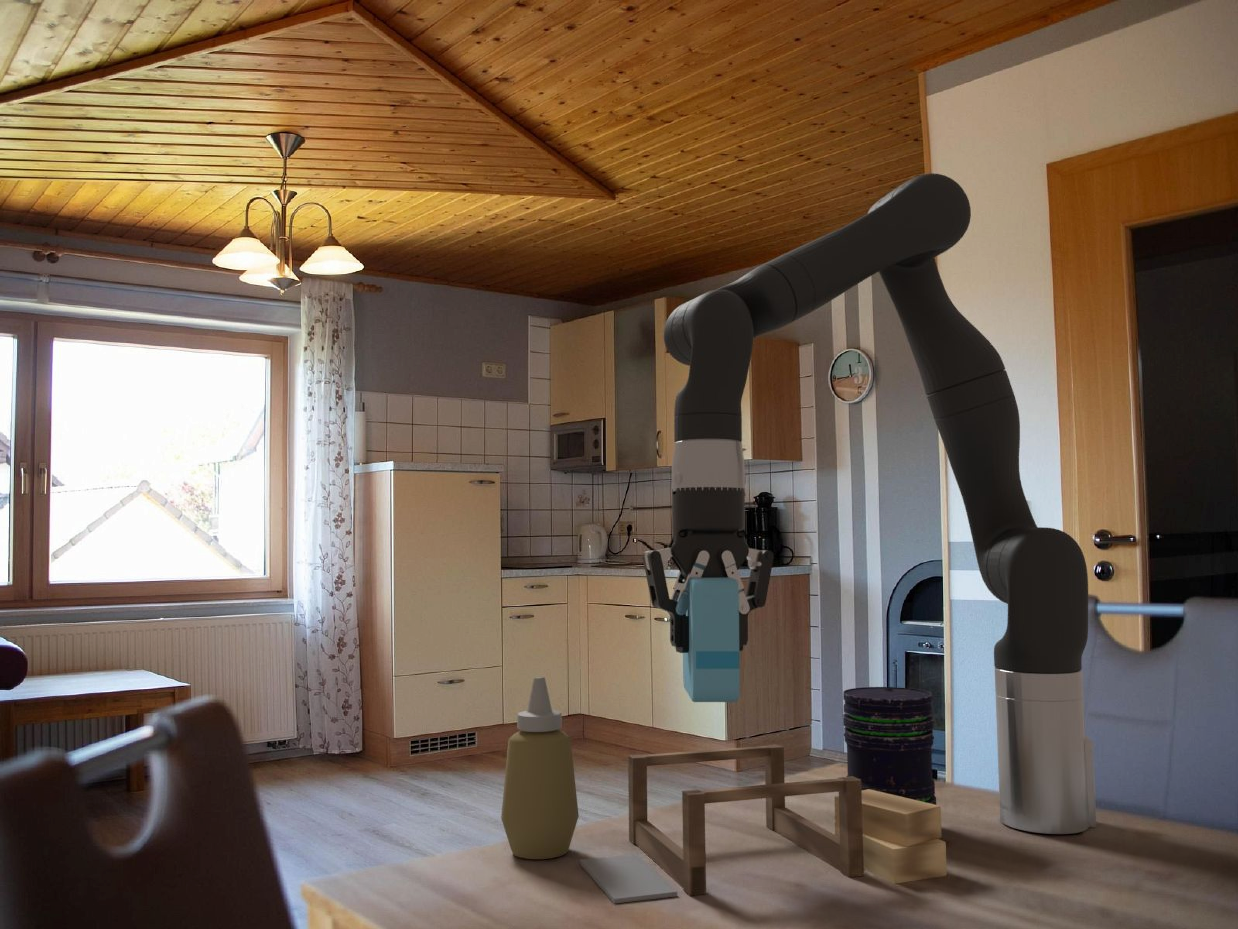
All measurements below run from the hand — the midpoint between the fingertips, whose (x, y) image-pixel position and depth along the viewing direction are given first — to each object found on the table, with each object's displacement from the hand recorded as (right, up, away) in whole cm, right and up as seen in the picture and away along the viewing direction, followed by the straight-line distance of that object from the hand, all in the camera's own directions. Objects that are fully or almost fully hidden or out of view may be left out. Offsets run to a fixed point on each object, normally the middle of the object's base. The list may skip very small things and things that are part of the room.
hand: (709, 650), depth 106 cm
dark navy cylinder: (+21, -22, +9) cm, 32 cm away
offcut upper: (+18, -18, -3) cm, 25 cm away
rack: (+3, -21, 0) cm, 21 cm away
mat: (-8, -21, -7) cm, 23 cm away
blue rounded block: (0, -5, 0) cm, 5 cm away
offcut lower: (+18, -21, -3) cm, 28 cm away
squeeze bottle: (-17, -22, +2) cm, 28 cm away
